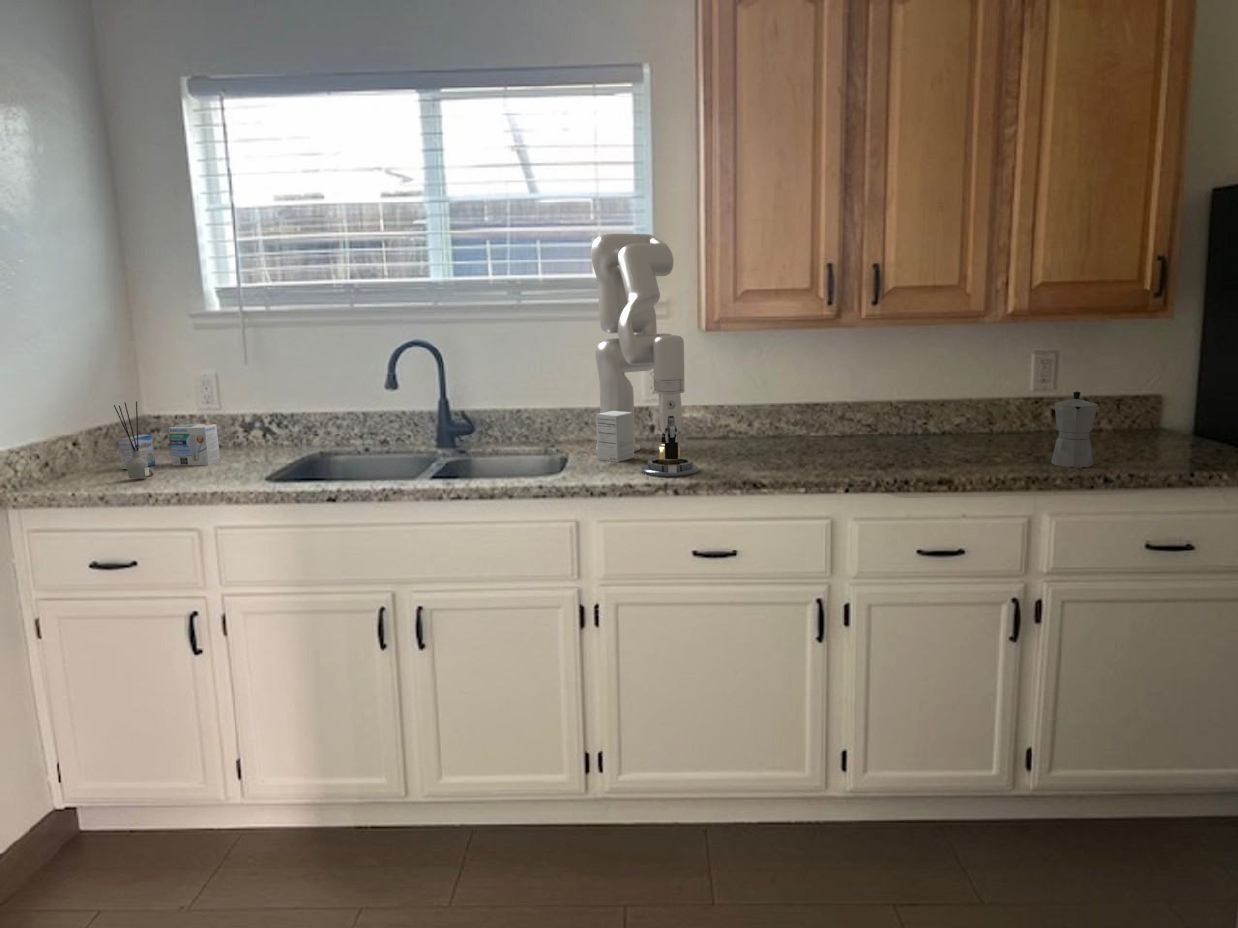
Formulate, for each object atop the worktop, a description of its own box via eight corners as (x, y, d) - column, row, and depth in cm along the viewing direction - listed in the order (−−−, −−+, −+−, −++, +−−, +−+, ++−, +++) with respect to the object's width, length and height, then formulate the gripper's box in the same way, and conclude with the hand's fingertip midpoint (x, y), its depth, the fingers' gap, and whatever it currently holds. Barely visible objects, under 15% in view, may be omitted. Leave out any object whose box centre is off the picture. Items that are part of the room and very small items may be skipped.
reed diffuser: (139, 482, 221) (129, 403, 217) (112, 483, 221) (101, 404, 217) (160, 474, 231) (151, 398, 227) (134, 475, 231) (124, 399, 227)
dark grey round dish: (640, 467, 226) (640, 456, 225) (694, 465, 226) (694, 455, 226) (643, 478, 212) (643, 466, 212) (701, 476, 213) (701, 465, 212)
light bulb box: (171, 466, 244) (167, 427, 242) (184, 461, 250) (180, 424, 248) (209, 465, 243) (205, 426, 241) (221, 461, 250) (217, 423, 248)
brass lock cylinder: (679, 465, 222) (678, 440, 221) (680, 469, 217) (680, 443, 216) (658, 466, 222) (658, 440, 220) (659, 469, 217) (659, 444, 215)
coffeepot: (1095, 470, 209) (1101, 394, 206) (1051, 468, 213) (1056, 394, 209) (1090, 459, 223) (1095, 388, 220) (1048, 457, 227) (1053, 387, 223)
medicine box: (135, 470, 238) (131, 438, 236) (121, 470, 239) (117, 438, 237) (156, 465, 246) (152, 434, 244) (141, 465, 247) (138, 434, 245)
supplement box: (614, 455, 244) (612, 410, 241) (635, 458, 239) (634, 412, 237) (596, 459, 238) (595, 413, 236) (617, 462, 233) (616, 415, 231)
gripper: (688, 389, 207) (688, 461, 210) (680, 382, 224) (681, 449, 227) (656, 390, 207) (657, 462, 210) (651, 383, 224) (652, 450, 227)
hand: (669, 455), depth 218 cm, fingers open, 9 cm apart
